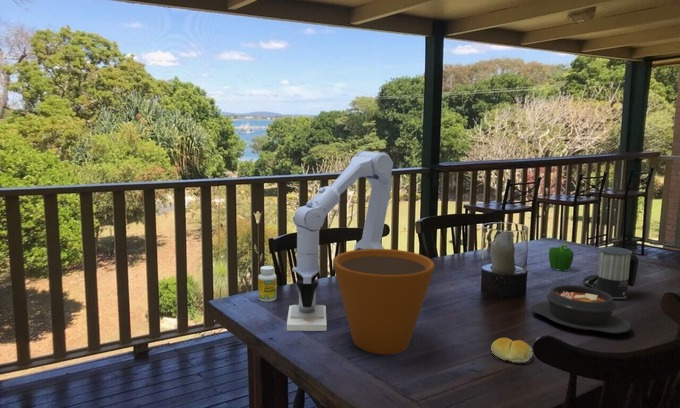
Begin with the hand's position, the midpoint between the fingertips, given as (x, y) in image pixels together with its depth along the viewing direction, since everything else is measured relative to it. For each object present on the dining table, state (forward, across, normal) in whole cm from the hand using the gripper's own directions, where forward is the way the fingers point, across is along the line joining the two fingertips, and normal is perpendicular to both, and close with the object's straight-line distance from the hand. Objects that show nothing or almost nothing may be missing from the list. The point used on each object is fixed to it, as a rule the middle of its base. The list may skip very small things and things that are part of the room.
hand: (307, 301), depth 140 cm
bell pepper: (+5, -50, +92) cm, 105 cm away
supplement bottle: (+5, -16, -12) cm, 20 cm away
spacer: (+2, 0, 0) cm, 2 cm away
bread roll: (+5, +23, +47) cm, 53 cm away
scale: (+5, +2, 0) cm, 5 cm away
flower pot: (+5, +14, +18) cm, 24 cm away
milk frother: (+5, -24, +95) cm, 98 cm away
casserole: (+5, +2, +73) cm, 73 cm away
